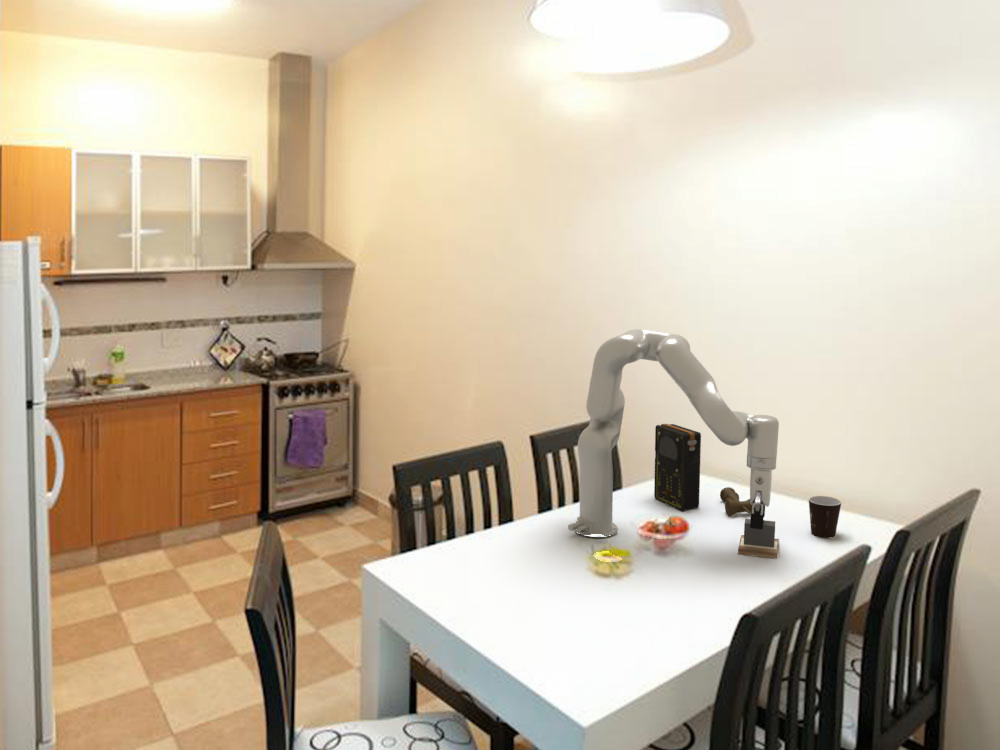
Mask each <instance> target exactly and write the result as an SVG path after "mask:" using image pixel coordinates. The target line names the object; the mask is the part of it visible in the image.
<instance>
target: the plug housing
mask: <svg viewBox="0 0 1000 750" xmlns="http://www.w3.org/2000/svg"><path fill="white" fill-rule="evenodd" d="M744 519H745V520H744V525H743V526H744V528H743V535H744V544H745V545H754V546H763V547H772V548H774V542H775V539H776V538H775V537H776V536H775V534H776V521H775V520H764V519H763V529H754V528H750V522H751V518H744Z"/></svg>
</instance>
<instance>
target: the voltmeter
mask: <svg viewBox="0 0 1000 750" xmlns="http://www.w3.org/2000/svg"><path fill="white" fill-rule="evenodd" d="M654 431H655V434H654V441H655V442H654V452H655V454H654V455H655V457H654V485H653V486H654V490H653V491H654V492H653V495H654V499H655V500H657V501H660V502H662V503H664V504H665V503H666V504H665V505H667V504H668V506H669V505H670V506H669V507H672V508H674V507H675V508H674V509H676V510H678V511H681V512H685V511H687V510H692V509H697V508H699V506H700V487H701V486H700V484H701V483H700V481H701V480H700V477H701V452H702V451H701V449H702V448H701V447H702V446H701V445H702V443H701V442H702V434H701V432H700V431H696V430H694V429H693V430H692V429H689V428H687V427H683V426H681V425H678V424H674V423H670V424H668V423H661V424H656V426H655V429H654Z"/></svg>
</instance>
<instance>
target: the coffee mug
mask: <svg viewBox="0 0 1000 750" xmlns="http://www.w3.org/2000/svg"><path fill="white" fill-rule="evenodd" d="M841 506H842V501H841V500H840V499H839V498H836V497H832V496H827V495H812V496H811V497H809V498H808V507H809V523H810V533H811V535H812V536H814V537H817V538H820V537H821V538H822V539H832V538H831V537H833V538H835V537H836V534H837V528H838V523H839V522H838V521H839V518H840V511H841ZM834 536H835V537H834ZM821 538H820V539H821Z"/></svg>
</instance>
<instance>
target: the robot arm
mask: <svg viewBox="0 0 1000 750" xmlns="http://www.w3.org/2000/svg"><path fill="white" fill-rule="evenodd" d="M640 360H646V361H652V362H658V363H659V365H660V366H661V367H662V368H663V369H664V371H665V372H666V373H667V374H668V376H669V377H670V378H671V379H672V380H673V381H674V382H675V384H676V385H677V386H678V387H679V389H681V391H682V392H683V393H684V394H685V396H687V399H688V400H689V401H690V404H691V405H692V406H693V407H694V409H695V411H696V412H697V414H698V415H699V416H700V418H701V419H702V421H703V422H704V423H705V425H706V426H707V427H708V428H709V429H710V431H711V432H712V433H713V434H714V435H715V436H716V438H717V439H718V440H719V441H720V442H722V443H723V444H725V445H726V446H731V447H733V446H739V445H740V444H742V443H743V442H744V441H745V440H746V439H747V453H746V467H747V468H748V469H750V479H749V481H750V483H749V499H750V503H751V504H752V505H753V506H752V513H750V519H751V522H750V528H754V529H763V520H764V518H765V516H766V515H765V514H766V507H768V508H769V506H770V504H771V503H770V501H771V492H772V478H773V476H772V475H773V472H772V471H773V470H776V469H777V457H778V456H777V455H778V441H779V430H780V429H779V427H780V424H779V423H780V422H779V420H778V418H776V417H775V416H773V415H766V414H756V415H755V414H750V413H746V412H741V411H735V410H731V408H730V407H729V406H728V404H727V403H726V402H725V401H724V400H725V399H723V397H722V396H721V394H720V392H719V390H718V387H717V384H716V381H715V379H714V377H713V376H712V375H711V373H710V372H709V371H708V370H707V369H706V367H704V365H703V364H702V363H701V362H700V361H699V359H698V358H697V357H696V356H695V355H694V354H693V352H692V351H691V345H690V343H689V341H688V339H686V337H684V336H682V335H680V334H675V333H668V332H658V331H651V330H647V329H646V330H645V329H630V330H627V331H626V332H623V333H621V334H619V335H617V336H616V335H615V336H614V337H612V338H611V337H610V338H609V339H608V340H605V342H603V343H602V345H600V347H598V349H597V351H596V353H595V356H594V360H593V364H592V371H591V376H590V381H589V387H588V394H587V399H586V407H585V408H586V411H587V414H588V416H589V423H588V426H586V428H584V429H583V431H582V432H581V433H580V435H579V437H578V442H577V452H578V453H577V454H578V462H579V463H578V465H579V516H577V518H576V521H575V522H573V523H569V524H567V529H568V531H570V532H572V531H574V532H575V531H576V532H578V533H580V534H582V535H591V534H602V535H604V536H609V535H613V534H615V535H617V533H618V532H617V531H619V527H618V525H616V524H615V523H613V512H614V511H613V507H614V506H613V505H614V504H613V501H614V499H613V495H614V494H613V493H614V491H613V488H614V485H613V484H614V481H613V480H614V472H613V470H614V469H613V467H614V465H613V455H612V454H613V453H612V451H613V449H614V448H615V446H616V445H617V444H618V441H619V440H620V439H619V438H620V435H621V429H622V422H623V415H624V411H625V402H626V401H625V400H626V399H625V395H624V392H623V390H622V389H621V382H622V378H623V369H624V367H625V366H626V365H628V364H632V363H635V362H637V361H640ZM576 532H575V533H576ZM613 536H614V535H613Z"/></svg>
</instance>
